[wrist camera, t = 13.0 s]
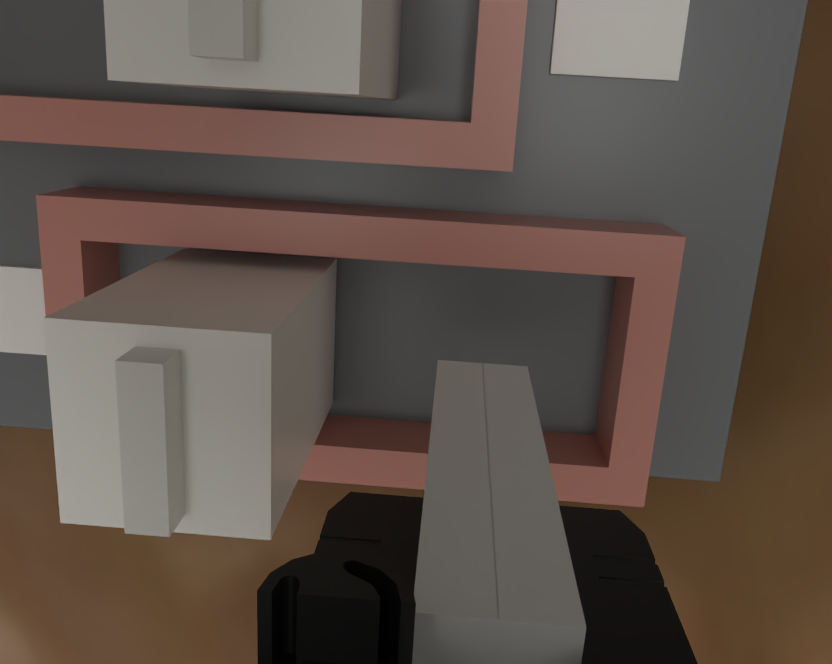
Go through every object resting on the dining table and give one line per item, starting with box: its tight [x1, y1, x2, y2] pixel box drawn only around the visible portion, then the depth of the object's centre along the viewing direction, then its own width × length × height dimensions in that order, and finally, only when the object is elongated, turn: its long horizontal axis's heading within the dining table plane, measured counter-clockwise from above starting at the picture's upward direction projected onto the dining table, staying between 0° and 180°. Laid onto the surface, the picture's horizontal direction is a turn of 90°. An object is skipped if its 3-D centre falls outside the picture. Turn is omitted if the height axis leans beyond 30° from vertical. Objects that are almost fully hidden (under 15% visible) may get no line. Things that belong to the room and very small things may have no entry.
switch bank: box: [0, 0, 808, 507], centre depth 19 cm, size 15×24×4 cm, turn 87°
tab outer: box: [44, 248, 337, 540], centre depth 17 cm, size 4×4×8 cm
